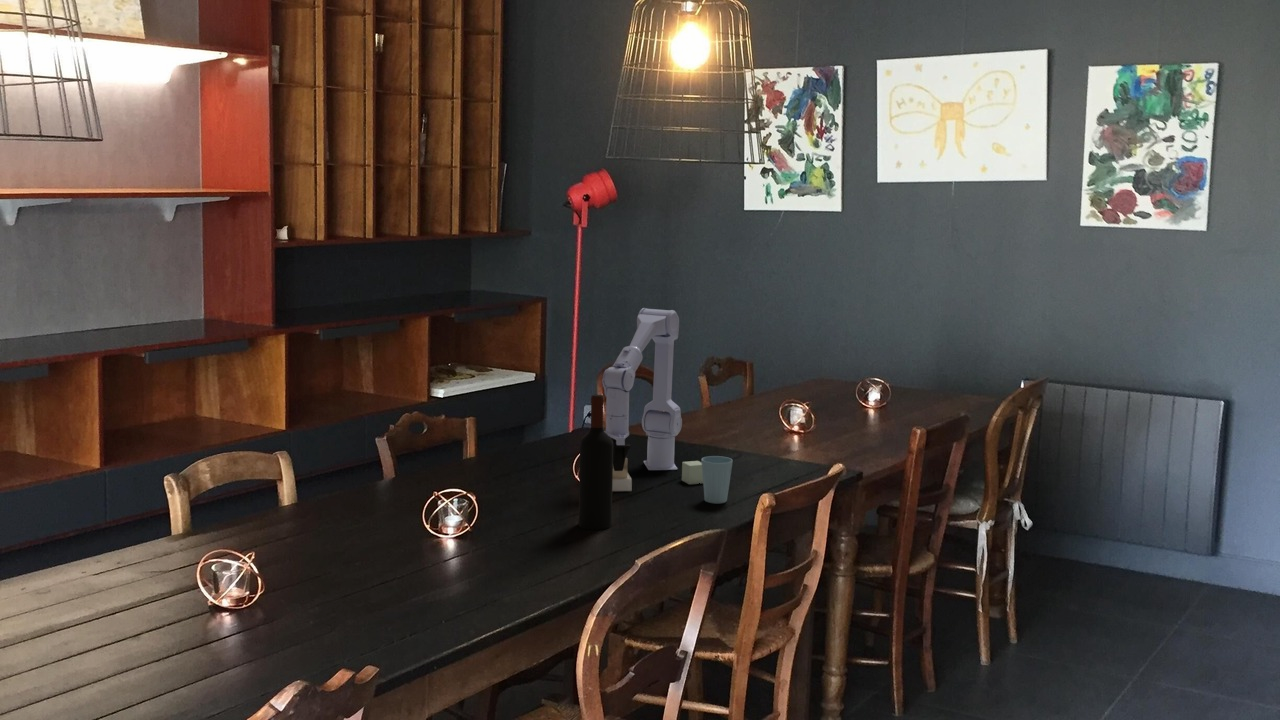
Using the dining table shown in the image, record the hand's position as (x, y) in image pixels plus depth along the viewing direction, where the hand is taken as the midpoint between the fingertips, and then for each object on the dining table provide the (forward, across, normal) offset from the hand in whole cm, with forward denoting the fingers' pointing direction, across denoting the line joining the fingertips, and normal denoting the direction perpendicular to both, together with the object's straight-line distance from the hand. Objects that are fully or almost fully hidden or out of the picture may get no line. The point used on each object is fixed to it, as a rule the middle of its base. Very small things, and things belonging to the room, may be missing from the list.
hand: (616, 467), depth 313 cm
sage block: (+6, -5, +21) cm, 22 cm away
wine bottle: (+6, +33, -9) cm, 35 cm away
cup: (+6, +14, +23) cm, 28 cm away
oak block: (+2, 0, 0) cm, 2 cm away
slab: (+5, 0, 0) cm, 5 cm away
